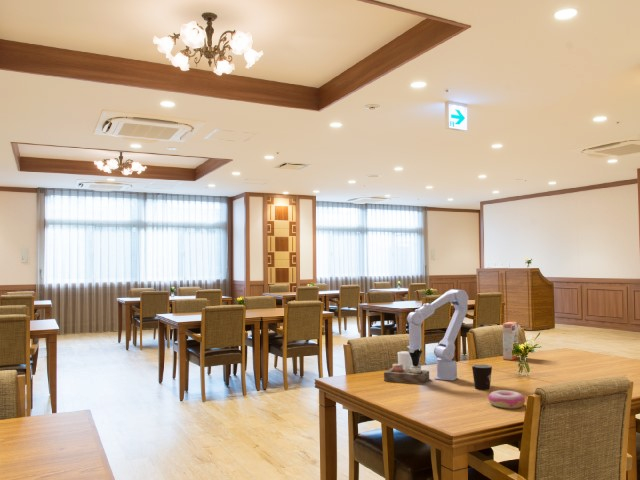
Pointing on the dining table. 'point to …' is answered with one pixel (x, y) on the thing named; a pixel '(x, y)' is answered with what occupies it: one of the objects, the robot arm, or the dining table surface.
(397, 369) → the plunger
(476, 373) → the coffee mug
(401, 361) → the white cup
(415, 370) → the white domed canister
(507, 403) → the donut
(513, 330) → the cracker box
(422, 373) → the housing
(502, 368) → the dining table surface
